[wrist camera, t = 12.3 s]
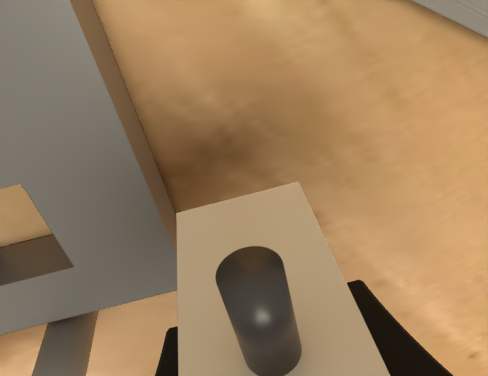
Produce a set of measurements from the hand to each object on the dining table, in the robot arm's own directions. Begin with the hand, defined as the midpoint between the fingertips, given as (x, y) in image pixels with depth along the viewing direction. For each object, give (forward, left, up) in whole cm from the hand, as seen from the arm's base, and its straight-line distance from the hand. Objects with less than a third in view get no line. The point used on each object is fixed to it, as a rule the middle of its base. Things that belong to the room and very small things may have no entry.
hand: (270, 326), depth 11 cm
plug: (0, -1, -3) cm, 4 cm away
